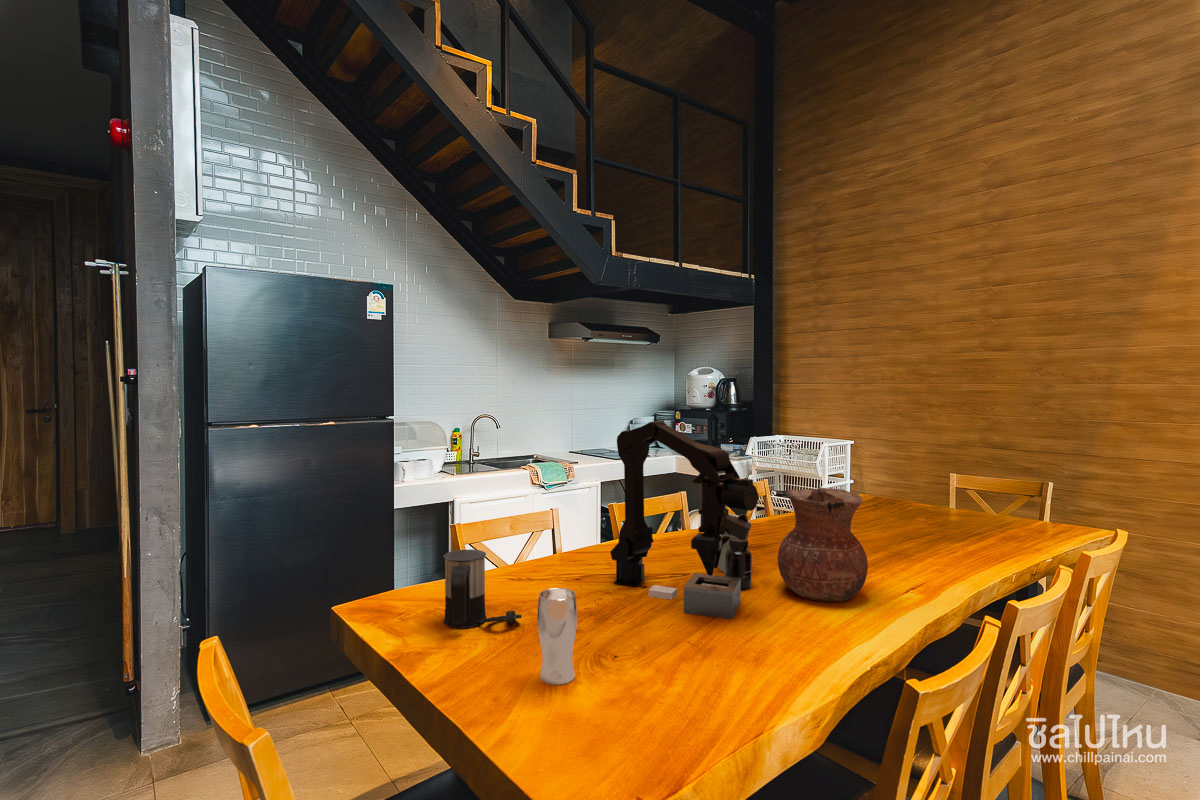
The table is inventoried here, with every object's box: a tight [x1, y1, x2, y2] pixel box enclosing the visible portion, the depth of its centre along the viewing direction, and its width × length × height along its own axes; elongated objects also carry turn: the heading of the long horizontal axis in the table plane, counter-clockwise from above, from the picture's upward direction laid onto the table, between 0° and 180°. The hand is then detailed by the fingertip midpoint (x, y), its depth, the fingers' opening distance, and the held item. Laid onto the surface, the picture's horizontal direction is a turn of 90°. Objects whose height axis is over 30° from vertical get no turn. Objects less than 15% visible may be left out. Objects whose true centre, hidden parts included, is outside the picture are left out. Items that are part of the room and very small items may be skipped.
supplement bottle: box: [724, 538, 753, 591], centre depth 163 cm, size 7×7×12 cm
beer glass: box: [537, 587, 578, 686], centre depth 113 cm, size 7×7×15 cm
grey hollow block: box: [683, 572, 742, 620], centre depth 147 cm, size 11×11×6 cm
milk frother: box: [443, 548, 522, 629], centre depth 138 cm, size 14×16×15 cm
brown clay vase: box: [776, 487, 869, 603], centre depth 157 cm, size 22×21×25 cm
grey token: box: [648, 584, 678, 601], centre depth 156 cm, size 6×4×2 cm, turn 64°
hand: (712, 571), depth 147 cm, fingers open, 5 cm apart
